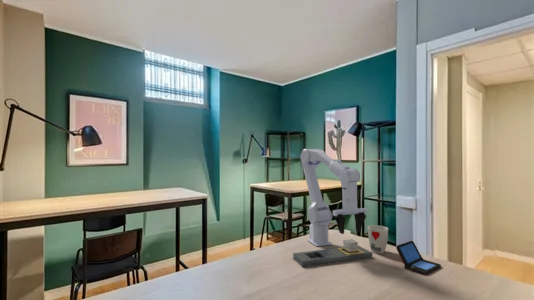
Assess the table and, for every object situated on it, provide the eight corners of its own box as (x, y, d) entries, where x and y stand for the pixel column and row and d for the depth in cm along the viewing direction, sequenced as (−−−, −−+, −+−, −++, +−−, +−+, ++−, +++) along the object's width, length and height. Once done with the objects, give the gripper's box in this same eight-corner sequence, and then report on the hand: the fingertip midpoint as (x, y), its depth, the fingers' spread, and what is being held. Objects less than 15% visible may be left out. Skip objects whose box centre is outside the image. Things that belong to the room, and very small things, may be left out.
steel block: (343, 254, 114) (343, 240, 115) (351, 253, 116) (351, 239, 116) (349, 258, 111) (348, 243, 111) (357, 257, 112) (357, 242, 112)
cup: (363, 249, 120) (363, 226, 120) (377, 247, 124) (377, 224, 124) (378, 256, 113) (378, 231, 113) (392, 252, 116) (392, 228, 116)
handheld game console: (425, 276, 94) (425, 254, 94) (395, 266, 103) (394, 246, 103) (442, 267, 102) (442, 247, 102) (412, 258, 110) (412, 239, 110)
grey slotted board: (293, 258, 111) (293, 252, 111) (358, 250, 120) (358, 245, 120) (302, 267, 102) (302, 261, 102) (372, 257, 111) (372, 252, 111)
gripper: (339, 201, 108) (339, 236, 107) (371, 199, 112) (371, 233, 112) (329, 198, 114) (330, 231, 114) (360, 196, 119) (360, 228, 118)
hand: (350, 232), depth 113 cm, fingers open, 7 cm apart
